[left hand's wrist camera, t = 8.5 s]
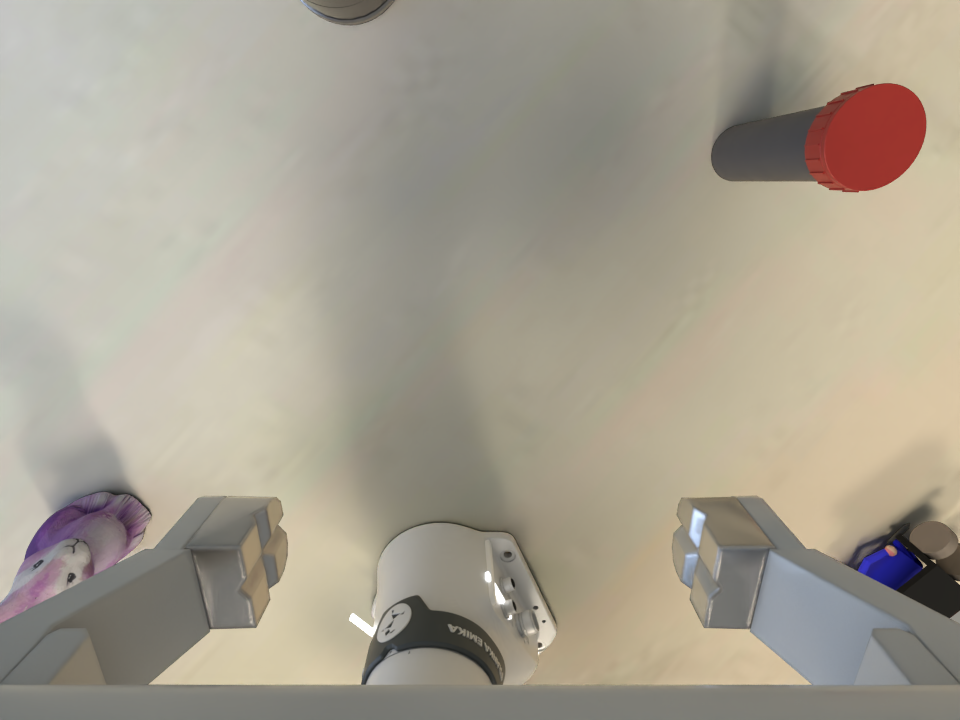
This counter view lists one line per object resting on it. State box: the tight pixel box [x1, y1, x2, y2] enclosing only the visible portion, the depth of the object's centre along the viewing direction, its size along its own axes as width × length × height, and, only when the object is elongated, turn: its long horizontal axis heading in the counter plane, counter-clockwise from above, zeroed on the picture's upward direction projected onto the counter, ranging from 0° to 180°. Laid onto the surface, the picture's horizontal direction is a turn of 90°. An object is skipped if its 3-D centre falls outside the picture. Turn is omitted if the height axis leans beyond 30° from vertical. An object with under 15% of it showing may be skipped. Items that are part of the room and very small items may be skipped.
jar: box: [712, 106, 825, 181], centre depth 35 cm, size 4×4×15 cm
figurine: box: [0, 492, 151, 623], centre depth 48 cm, size 9×10×15 cm
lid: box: [804, 83, 926, 192], centre depth 29 cm, size 6×6×2 cm
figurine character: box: [858, 521, 960, 618], centre depth 53 cm, size 7×8×15 cm
